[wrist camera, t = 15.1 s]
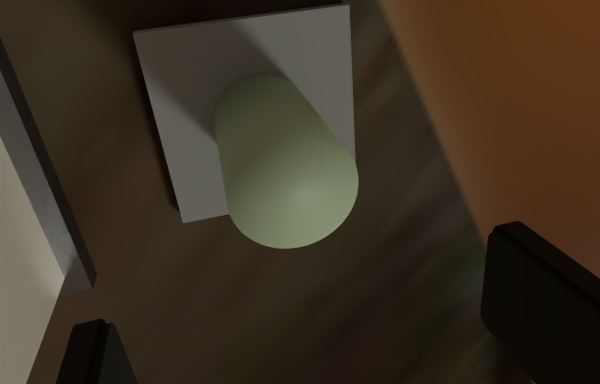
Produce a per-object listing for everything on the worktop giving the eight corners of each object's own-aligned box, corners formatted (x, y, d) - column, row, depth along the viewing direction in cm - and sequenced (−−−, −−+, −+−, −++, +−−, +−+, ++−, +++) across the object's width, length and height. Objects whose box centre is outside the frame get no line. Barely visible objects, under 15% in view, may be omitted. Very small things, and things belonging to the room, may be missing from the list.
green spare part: (304, 66, 20) (355, 117, 14) (313, 156, 22) (360, 233, 16) (205, 82, 19) (213, 142, 13) (223, 173, 21) (238, 260, 15)
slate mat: (351, 181, 24) (356, 188, 23) (183, 214, 23) (183, 223, 22) (343, 2, 20) (349, 4, 19) (134, 30, 18) (132, 33, 18)
